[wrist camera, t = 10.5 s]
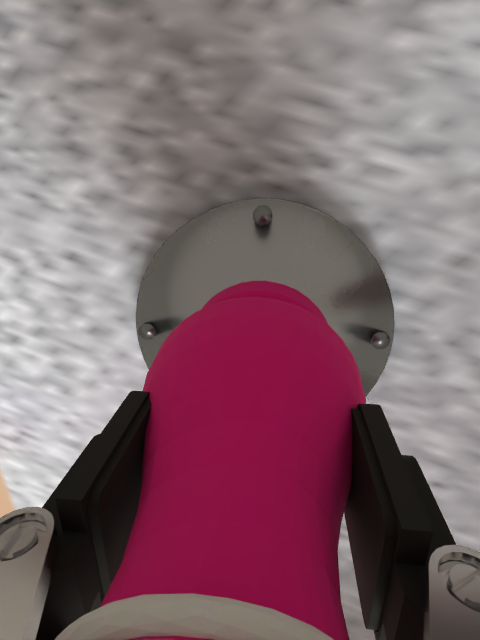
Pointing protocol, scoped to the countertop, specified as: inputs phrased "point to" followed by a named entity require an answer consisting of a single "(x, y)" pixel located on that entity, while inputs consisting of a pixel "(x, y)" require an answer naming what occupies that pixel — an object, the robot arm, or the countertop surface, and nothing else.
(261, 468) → the pepper mill
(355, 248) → the grey metal disc
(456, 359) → the countertop surface
